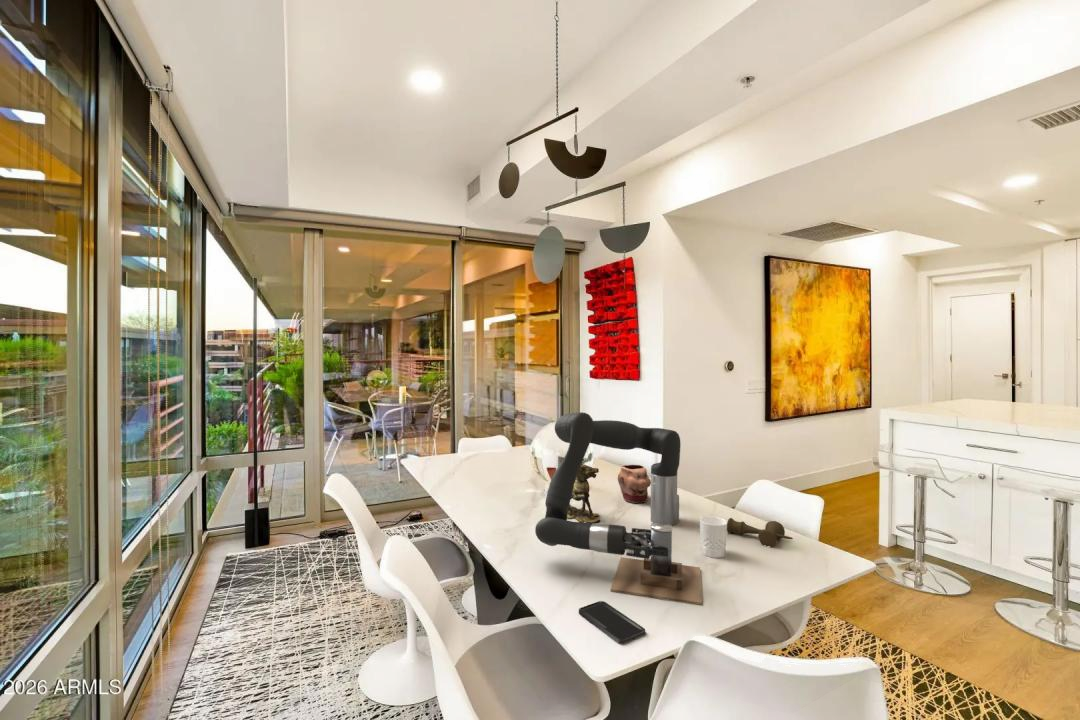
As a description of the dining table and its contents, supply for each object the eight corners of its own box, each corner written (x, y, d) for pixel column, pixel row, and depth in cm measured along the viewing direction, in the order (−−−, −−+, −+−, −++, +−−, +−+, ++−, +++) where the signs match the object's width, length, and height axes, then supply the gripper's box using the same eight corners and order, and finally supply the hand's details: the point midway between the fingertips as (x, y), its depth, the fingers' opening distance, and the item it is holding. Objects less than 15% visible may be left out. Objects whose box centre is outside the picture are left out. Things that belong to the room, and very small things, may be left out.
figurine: (581, 527, 166) (581, 469, 166) (543, 507, 188) (543, 455, 187) (609, 520, 173) (610, 464, 173) (569, 502, 194) (570, 452, 194)
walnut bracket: (610, 591, 121) (610, 579, 121) (620, 559, 140) (620, 548, 140) (702, 605, 115) (702, 592, 115) (699, 569, 134) (699, 558, 134)
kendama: (733, 529, 166) (797, 543, 153) (723, 538, 159) (789, 553, 146) (732, 512, 166) (796, 524, 153) (722, 520, 159) (788, 533, 146)
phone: (602, 600, 115) (647, 630, 103) (602, 604, 116) (647, 635, 103) (576, 609, 111) (620, 642, 99) (576, 614, 111) (620, 647, 99)
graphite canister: (661, 571, 131) (662, 520, 131) (675, 580, 126) (676, 527, 126) (645, 575, 128) (646, 524, 128) (660, 584, 124) (660, 530, 123)
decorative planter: (607, 494, 206) (608, 461, 205) (632, 491, 210) (632, 459, 210) (633, 508, 187) (633, 472, 187) (659, 504, 191) (659, 470, 191)
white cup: (726, 550, 147) (726, 517, 147) (727, 560, 140) (728, 526, 140) (699, 546, 150) (699, 515, 150) (699, 556, 142) (699, 523, 142)
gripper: (603, 534, 124) (668, 541, 120) (611, 516, 138) (669, 522, 133) (603, 562, 124) (667, 571, 120) (611, 542, 138) (669, 549, 133)
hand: (668, 545), depth 127 cm, fingers open, 8 cm apart
